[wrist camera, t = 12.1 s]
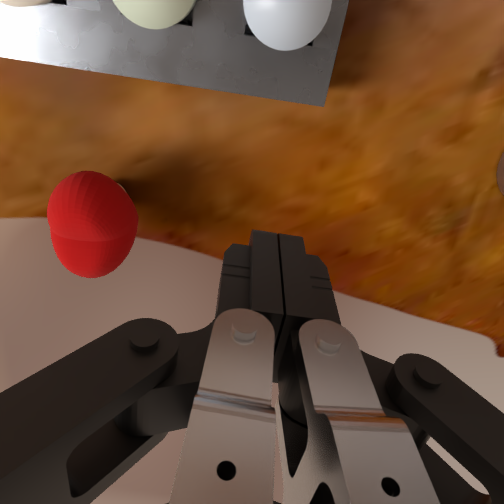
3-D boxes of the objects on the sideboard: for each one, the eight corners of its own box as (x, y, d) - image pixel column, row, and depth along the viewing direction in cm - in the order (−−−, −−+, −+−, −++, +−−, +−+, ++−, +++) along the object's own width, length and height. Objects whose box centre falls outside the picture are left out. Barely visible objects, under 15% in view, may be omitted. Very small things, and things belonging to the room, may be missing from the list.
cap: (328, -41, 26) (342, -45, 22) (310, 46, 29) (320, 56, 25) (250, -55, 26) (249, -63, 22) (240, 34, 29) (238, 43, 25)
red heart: (72, 139, 36) (19, 185, 28) (150, 148, 37) (120, 196, 29) (84, 227, 42) (42, 288, 33) (152, 234, 42) (127, 296, 34)
